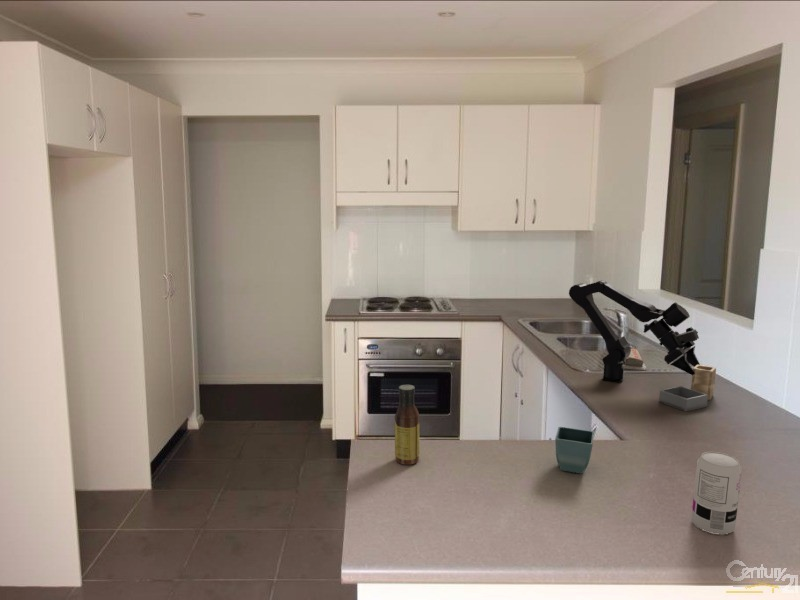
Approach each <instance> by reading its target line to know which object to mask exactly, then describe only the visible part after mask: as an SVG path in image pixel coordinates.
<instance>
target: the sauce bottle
mask: <svg viewBox="0 0 800 600" xmlns="http://www.w3.org/2000/svg"><path fill="white" fill-rule="evenodd" d="M415 393H416V387H415V385H412V384H401V385H399V386H398V395H399V401H398V407H397V409H396V412H395V415H394V455H395V456H394V457H395V461H396V462H397V463H398V464H399V465H405V466H411V465H415V464H417V463H418V462H419V460H420V454H421V453H420V413H419V410H418V408H417V406H416V405H415Z"/></svg>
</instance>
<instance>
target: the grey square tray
mask: <svg viewBox="0 0 800 600" xmlns="http://www.w3.org/2000/svg"><path fill="white" fill-rule="evenodd" d="M708 401H709V400H708V395H707V394H704V393H701V392H698V391H695V390H692V389H691V388H688V387H685V386H683V385H679V386H674V387H669V388H664V389H660V390H659V398H658V402H659V403H661V404H663V405H667V406H670V407H672V408H675V409H678V410H681V411H683V412H690V411H694V410H698V409H702V408H703V409H704V408H706V407H708Z"/></svg>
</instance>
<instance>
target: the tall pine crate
mask: <svg viewBox="0 0 800 600" xmlns="http://www.w3.org/2000/svg"><path fill="white" fill-rule="evenodd" d="M692 369H693V371H694V372H695V374H694V375H691V376H692V377H691V382H690V383H691V386H690V389H692V390H695V391H698V392H701V393H704V394H707V395H708V400H707V401H710V400H711V399H712V398H713V397H714V393H715V392H714V391H715V383H716V382H715V381H716V380H715V379H716V375H717V367H715V366H709V365H702V364H700V365H696V366H695V367H694V366H693V368H692Z"/></svg>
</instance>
